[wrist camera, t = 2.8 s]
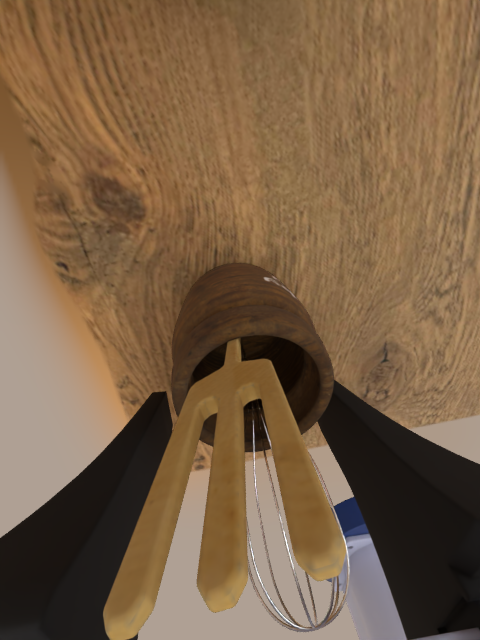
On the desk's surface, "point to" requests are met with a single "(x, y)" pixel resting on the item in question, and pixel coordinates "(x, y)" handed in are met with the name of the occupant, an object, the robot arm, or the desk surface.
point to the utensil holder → (237, 446)
